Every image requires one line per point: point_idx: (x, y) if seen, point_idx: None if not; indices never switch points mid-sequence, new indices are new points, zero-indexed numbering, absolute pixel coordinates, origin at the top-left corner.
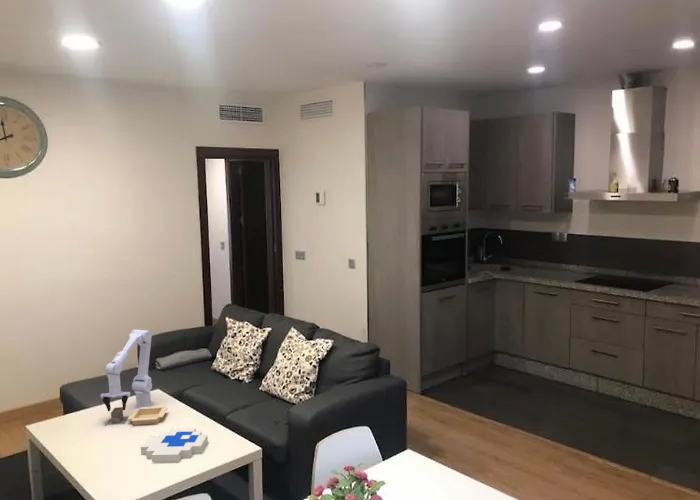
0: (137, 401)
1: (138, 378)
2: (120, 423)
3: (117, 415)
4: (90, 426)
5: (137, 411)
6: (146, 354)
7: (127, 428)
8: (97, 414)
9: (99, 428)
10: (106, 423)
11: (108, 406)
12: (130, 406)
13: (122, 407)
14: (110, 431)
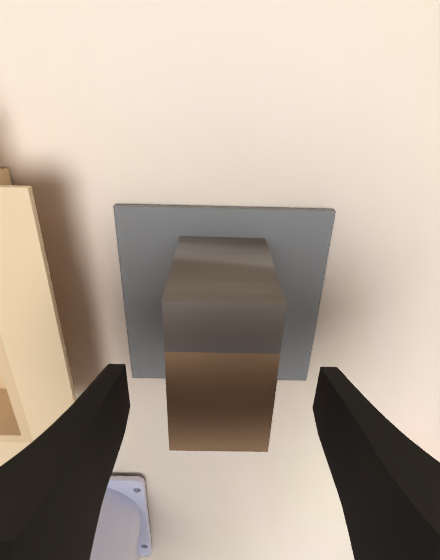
0: (103, 557)
1: None
2: (166, 228)
3: (188, 277)
4: None
5: (11, 390)
6: None
7: (30, 73)
8: None
9: (385, 147)
10: (323, 254)
11: (351, 423)
12: (198, 527)
13: (169, 444)
14: (229, 5)
